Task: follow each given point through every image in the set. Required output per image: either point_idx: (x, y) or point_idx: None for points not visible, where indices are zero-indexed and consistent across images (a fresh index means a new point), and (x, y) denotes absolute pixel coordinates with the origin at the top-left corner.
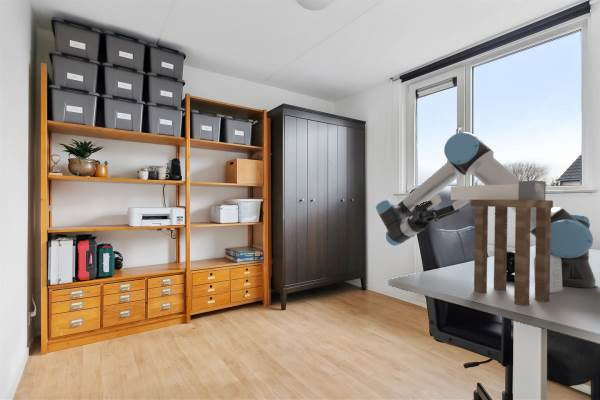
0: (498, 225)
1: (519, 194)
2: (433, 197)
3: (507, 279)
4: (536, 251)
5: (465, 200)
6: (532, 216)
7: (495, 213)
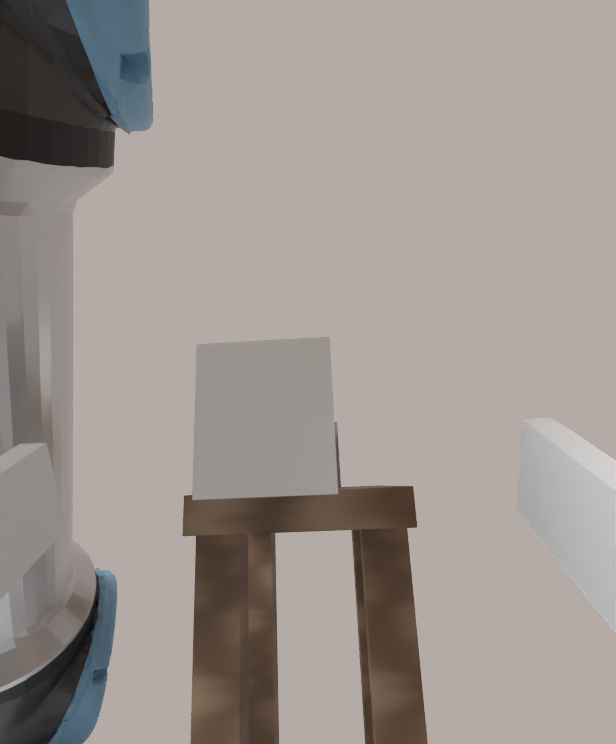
0: (245, 648)
1: (339, 468)
2: (598, 455)
3: None
4: (274, 691)
5: (43, 514)
6: (62, 584)
7: (240, 576)
